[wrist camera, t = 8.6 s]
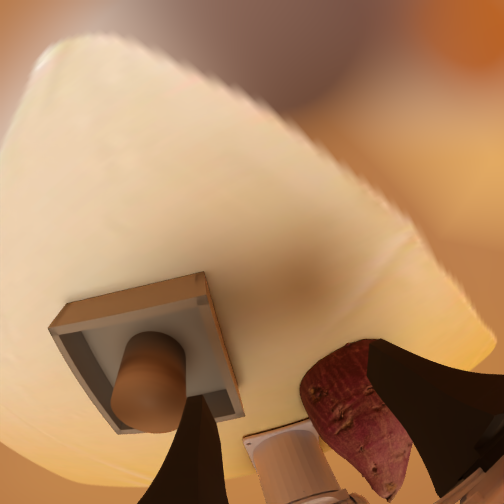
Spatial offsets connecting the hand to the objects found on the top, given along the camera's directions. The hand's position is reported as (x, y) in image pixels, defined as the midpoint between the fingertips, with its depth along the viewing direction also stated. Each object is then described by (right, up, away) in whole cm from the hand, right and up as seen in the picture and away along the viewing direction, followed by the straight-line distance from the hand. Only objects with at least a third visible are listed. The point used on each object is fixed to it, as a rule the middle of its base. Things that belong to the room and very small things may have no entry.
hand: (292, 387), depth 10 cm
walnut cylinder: (-9, -2, +8) cm, 12 cm away
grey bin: (-9, -2, +9) cm, 13 cm away
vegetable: (+8, -7, +14) cm, 17 cm away
